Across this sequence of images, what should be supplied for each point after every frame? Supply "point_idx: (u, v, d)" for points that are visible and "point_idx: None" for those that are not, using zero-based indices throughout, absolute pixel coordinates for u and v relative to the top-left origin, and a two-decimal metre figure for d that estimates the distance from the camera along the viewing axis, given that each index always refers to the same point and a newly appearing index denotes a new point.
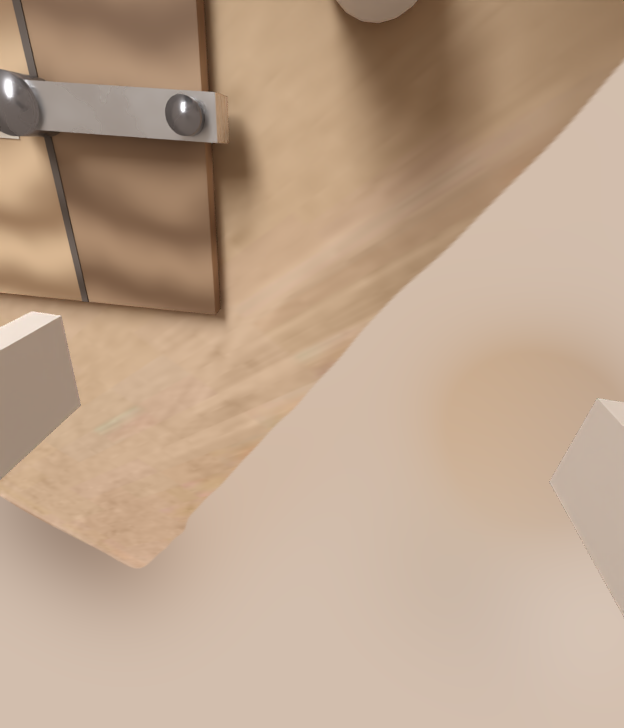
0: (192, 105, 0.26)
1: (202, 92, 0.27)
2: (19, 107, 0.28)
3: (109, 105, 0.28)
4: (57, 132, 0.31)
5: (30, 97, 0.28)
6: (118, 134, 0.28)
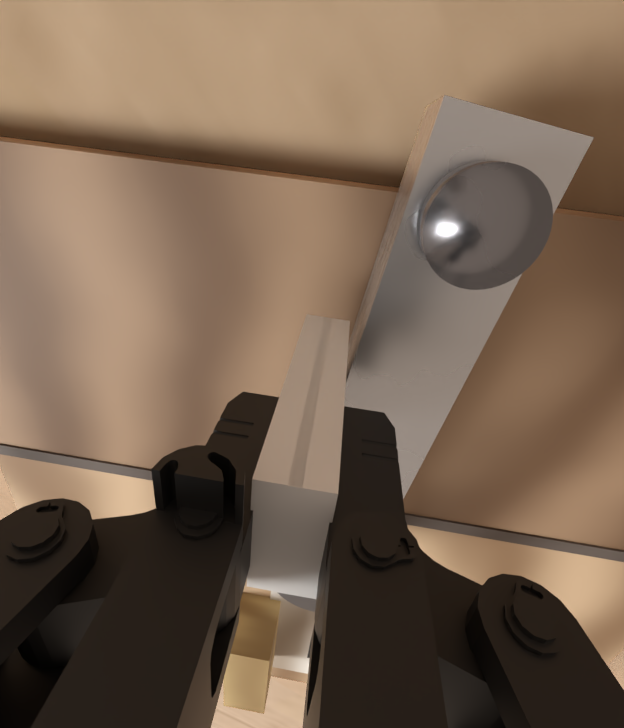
0: (472, 181, 0.07)
1: (430, 146, 0.08)
2: None
3: None
4: None
5: None
6: (439, 423, 0.11)
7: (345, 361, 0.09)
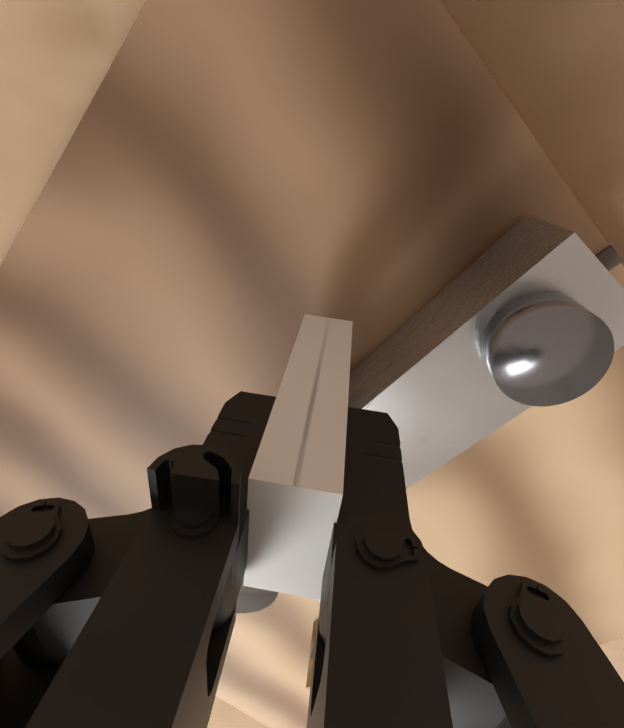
0: (566, 318, 0.08)
1: (539, 264, 0.09)
2: None
3: None
4: None
5: None
6: (408, 484, 0.12)
7: (348, 362, 0.09)
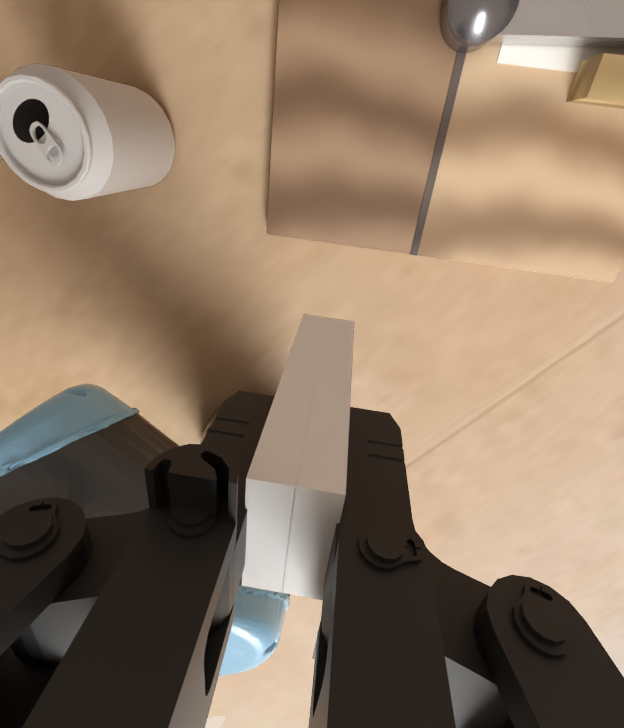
0: None
1: None
2: (500, 3, 0.23)
3: None
4: (483, 45, 0.27)
5: None
6: (607, 35, 0.24)
7: (350, 362, 0.09)
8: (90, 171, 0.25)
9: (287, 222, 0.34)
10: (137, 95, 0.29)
